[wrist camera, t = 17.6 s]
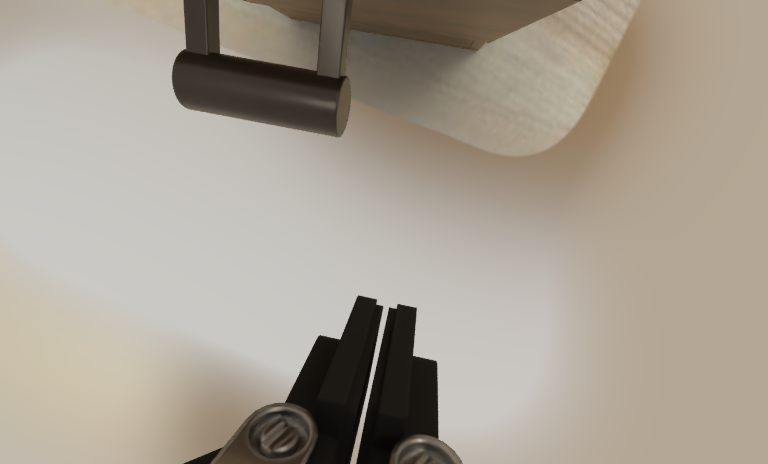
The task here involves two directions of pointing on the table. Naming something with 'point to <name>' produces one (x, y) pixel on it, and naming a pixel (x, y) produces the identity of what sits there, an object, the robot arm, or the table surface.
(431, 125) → the table surface
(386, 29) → the chest
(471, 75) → the table surface
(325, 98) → the lid
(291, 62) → the table surface
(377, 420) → the robot arm
